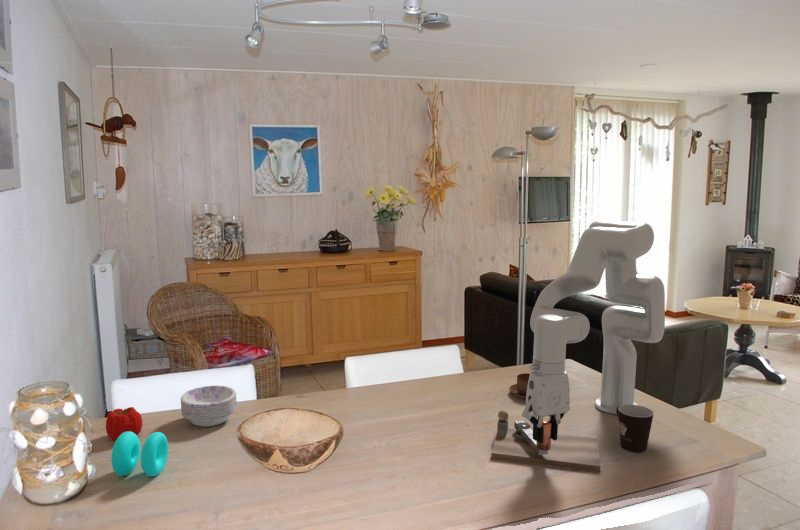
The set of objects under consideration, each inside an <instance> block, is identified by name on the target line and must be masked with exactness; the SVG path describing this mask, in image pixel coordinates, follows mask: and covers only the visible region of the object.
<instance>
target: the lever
mask: <svg viewBox="0 0 800 530" xmlns="http://www.w3.org/2000/svg"><path fill="white" fill-rule="evenodd" d="M513 426H514V427H513V429H516V430H517V431H516V432H517V433H518V434H520V435H521V436H522V437H523V438H524V439H525V440H526V441H527V442H528V443H529V445H530V446H531V447H532V448H533V449H534V450H535V451H536V453H537V454H538V455H543V454H548V450H550V449H551V428H552V422H551V421H550V419H546V418H543V422H542V426H541V427H543V428H544V433H543V443H539V442H537V441H535V440H534V439H533V429H531V423H528V422H525V421H524V420H514V425H513Z"/></svg>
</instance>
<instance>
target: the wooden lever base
mask: <svg viewBox="0 0 800 530" xmlns="http://www.w3.org/2000/svg"><path fill="white" fill-rule="evenodd" d="M497 417H498V421H497V427H496V428H497V431H496V434H495V438H494V442H493V446H492V450H491V457H490V458H491V459H492V460H502V461H509V462H517V463H524V464H525V463H526V464H531V465H532V464H534V465H538V466H539V465H541V466H549V467H555V468H556V467H557V468H558V467H559V468H563V469H564V468H565V469H571V470H572V469H573V470H580V471H581V470H582V471H587V472H589V471H590V472H597V473H601V465H602V464H601V459H600V458H601V457H600V449H599V442H598V441H599V440H598V438H596V437H587V436H577V435H571V434H560V433H557V440H553V439H551V449H550V450H548V454H543V455H538V454H537V453H536V451H535V450H534V449H533V448H532V447H531V446H530V445H529V443H528V442H527V441H526V440H525V439H524V438H523V437H522V436H521V435H520V434H518V433H517V432H516V431H517V430H516V429H515V428H509V413H508V411H507V410H505V409H502V410H500V411H498V413H497Z"/></svg>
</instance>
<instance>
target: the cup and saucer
mask: <svg viewBox="0 0 800 530" xmlns="http://www.w3.org/2000/svg"><path fill="white" fill-rule="evenodd" d="M529 376H530V373H528V372H527V373H525V372H524V373H520V374H518V375H517V376H516V384H512V385H511V386H509V388H508V389H509V392H510V393H511V394H512V395H513V396H514V397H517V398H520V399H525V400H526V393H527V386H528V380H529Z"/></svg>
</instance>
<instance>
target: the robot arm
mask: <svg viewBox="0 0 800 530" xmlns="http://www.w3.org/2000/svg"><path fill="white" fill-rule="evenodd" d="M654 240H655V233H654V230H653V228H652V225H650V224H649V223H647V222H646V223H645V222H640V221H639V222H638V221H621V220H607V219H606V220H605V219H604V220H603V219H602V220H596V221H592V223H590V225H589V227H588V228H587V229H585V230H584V231H583V232H582V234H581V236H580V239H579V240H578V244H577V246H576V249H575V251H574V253H573V256H572V259H571V261H570V264H569V267H568V268H567V270H566V272H565V273H564V274H562V275H560V276H558V277H557V278H555V279H554V280H552V281H551V282H550V283H548V285H546V286H545V288H543V289H542V291H541V292H540V293H539V295H538V297H537V300H536V301H535V304H534V306H533V309H532V313H531V316H530V320H529V321H530V322H529V323H530V324H529V325H530V330H531V332H533V354H532V355H533V356H532V363H531V364H529V369H530V370H531V371H530V373H529V374H530V376H529V380H528V386H527V393H526V399H525V407H524V409H523V411H522V413H521V416H522V417H523V418H525V419H527V420H528V421H529V423H530V424H531V425H532V431H533V439H534V440H535V441H537V442H539V443H543V433H544V428H543V427H541V426H542V422H543V419H544V418H545V417H548V416H549V419H548V420H550V421H551V422H552V428H551V439H553V440H557V434H559V432H558V431H559V430H558V428H559V425H560V424H561V421H562V418H563V417H565V414H567V413H568V412H569V411H570V410H571V407H570V401H571V400H570V381H569V375H568V372H567V371H566V353H567V345H568V344H576V343H580V342H582V341H583V340H585V339H586V338H587V337H588V335H589V333H590V330H591V328H590V327H591V325H590V323H591V322H590V321H589V319H588V317H587V316H586V315H585V314H583V313H581V312H578V311H572V310H566V309H562V308H561V309H560V308H556V307H555V305H556V304H557V303H558V302H560V301H561V300H563V299H565V298H567V297H570V296H572V295H573V296H575V295H577V294H581V293H585V292H587V291H591V290H593V289H595V288H597V287H598V286H599V285H600V283H601V280H602V277H603V274H604V273H605V292H606V293H605V294H606V298H607V299H608V301H610V302H611V303H613V304H617V305H611V306H608V307H607V308H605V309H604V310H603V312H602V316H601V328H602V337H603V347H602V348H603V351H602V352H603V353H602V354H603V355H602V356H603V357H602V369H601V385H600V386H601V387H600V397H599V398H596V400H594V401H595V403H594V405H595V407H596V408H597V409H598V410H600V411H602V412H605V413H608V414H610V415H616V416H617V413H616V410H617V407H618V406H622V405H638V403H636V402H635V385H636V372H637V371H636V370H637V358H638V357H637V355H638V354H637V350H636V347H635V345H634V343H633V341H636V342H642V343H649V344H655V343H659V342H660V341H661V340H662V339H663V336H664V334H665V328H666V327H665V325H666V324H665V322H666V319H665V318H666V317H665V316H666V314H665V313H666V305H665V304H666V301H665V299H666V298H665V297H666V295H665V294H666V293H665V286H664V283H663V280H662V279H661V278H659V276H656V275H652V274H646V273H645V274H643V273H639V272H638V271H637V259H638V258H640V257H642V256H644V255H646V254H647V253H648V252H649V251H650V250H651V249H652V247H653V245H654V242H655V241H654ZM554 307H555V308H554Z"/></svg>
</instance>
